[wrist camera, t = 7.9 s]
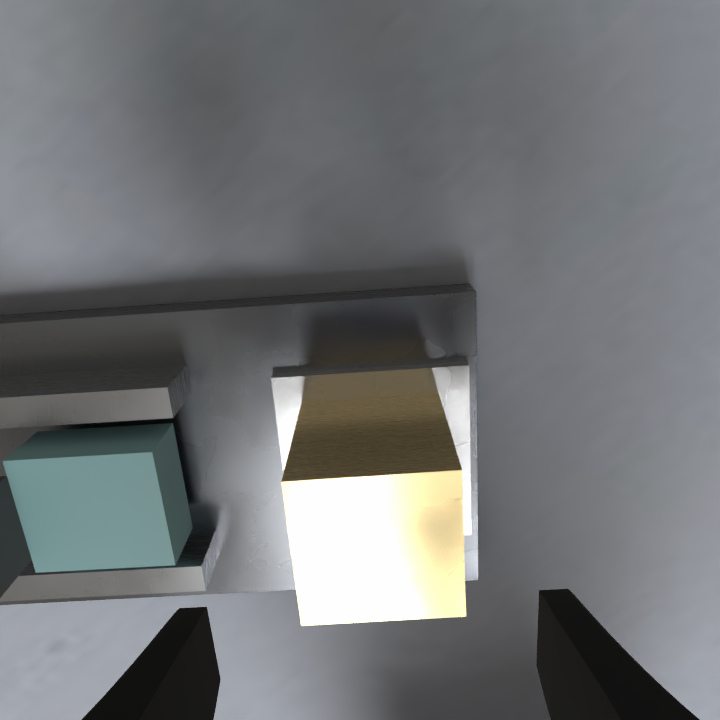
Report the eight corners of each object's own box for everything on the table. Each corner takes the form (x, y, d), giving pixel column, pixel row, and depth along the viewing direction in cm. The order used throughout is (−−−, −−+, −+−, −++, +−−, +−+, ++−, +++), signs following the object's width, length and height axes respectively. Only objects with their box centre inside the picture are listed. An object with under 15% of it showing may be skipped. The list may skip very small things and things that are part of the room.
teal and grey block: (172, 422, 19) (111, 509, 15) (192, 527, 21) (142, 637, 16) (-11, 434, 20) (-130, 523, 15) (20, 537, 21) (-80, 649, 16)
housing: (438, 393, 19) (462, 469, 15) (443, 511, 21) (466, 616, 16) (301, 402, 20) (281, 481, 15) (315, 519, 21) (301, 626, 16)
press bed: (469, 283, 20) (488, 306, 17) (472, 559, 23) (488, 619, 20) (-115, 323, 21) (-198, 352, 17) (-25, 585, 24) (-81, 648, 21)
